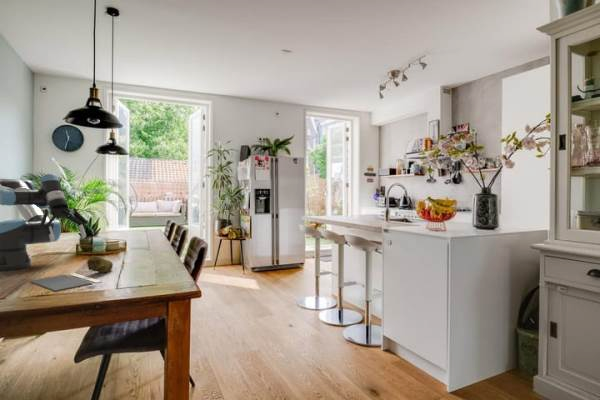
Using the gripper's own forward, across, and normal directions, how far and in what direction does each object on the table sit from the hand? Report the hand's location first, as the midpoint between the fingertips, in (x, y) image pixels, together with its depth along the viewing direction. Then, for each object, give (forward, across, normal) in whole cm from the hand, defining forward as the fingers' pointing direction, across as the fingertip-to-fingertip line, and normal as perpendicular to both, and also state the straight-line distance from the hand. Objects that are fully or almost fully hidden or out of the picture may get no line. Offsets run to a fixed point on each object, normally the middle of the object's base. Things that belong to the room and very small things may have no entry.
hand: (69, 238), depth 164 cm
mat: (+25, -12, -8) cm, 29 cm away
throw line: (+25, -3, -8) cm, 26 cm away
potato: (+22, +7, -4) cm, 23 cm away
